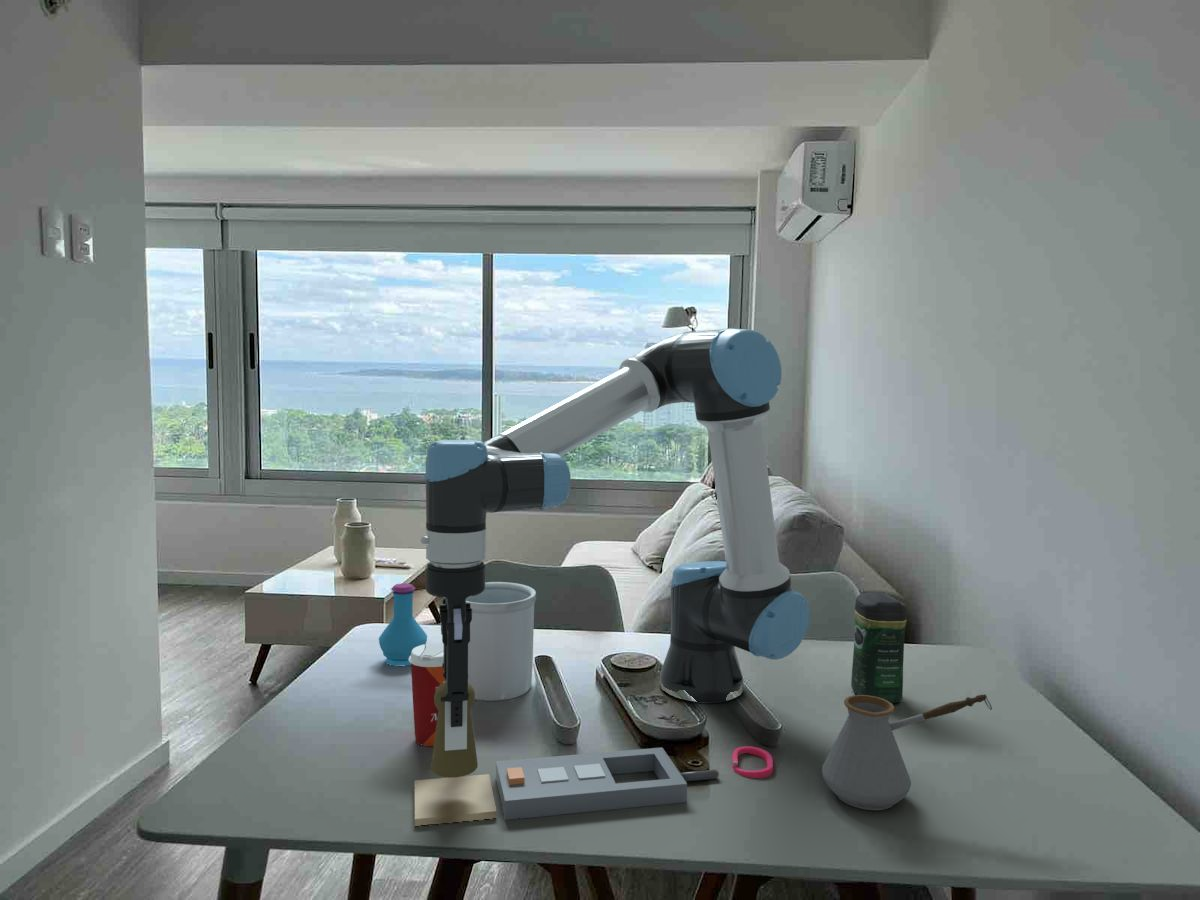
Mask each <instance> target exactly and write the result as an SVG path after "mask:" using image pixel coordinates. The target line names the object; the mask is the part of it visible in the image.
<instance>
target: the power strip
mask: <svg viewBox="0 0 1200 900" xmlns="http://www.w3.org/2000/svg"><path fill="white" fill-rule="evenodd" d="M644 772H654V774H655V775H656V777H657V778H658V779H652V780H643V781H642V780H640V781H632V782H631V781H630V782H620V783H619V782H618V783H617V782H616V781H615V779H614V777H613V775H622V774H630V773H631V774H633V773H644ZM719 777H720V773H719V771H718V770H717V769H707V770H695V771H685V772H680V770H679V769H678V768H677V767H676V765H675V763H674V762H673V761H672V759H671V758H670V756H669V755H668V754H667V752H666V751H665V749H664V748H663V747H652V748H640V749H639V748H638V749H627V750H626V749H625V750H616V751H604V752H592V753H591V752H590V753H581V754H580V753H579V754H570V755H569V754H568V755H557V756H556V755H555V756H543V757H532V758H530V757H529V758H520V759H506V760H497V761H495V781H496V786H497V789H498V795H499V799H501V800H500V804H502V805H501V809H503V810H502V813H504V814H503V818H504V819H503V820H504V821H509V820H510V819H511V820H518V818H520V819H528V818H537V817H538V818H541V817H549V816H560V815H568V814H569V815H571V814H581V813H588V812H589V813H590V812H600V811H608V810H609V811H611V810H620V809H630V808H639V807H650V806H661V805H669V804H670V805H671V804H680V803H687V799H688V783H687V782H696V781H706V780H707V781H708V780H716V779H718V778H719Z"/></svg>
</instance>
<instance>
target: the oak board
mask: <svg viewBox="0 0 1200 900" xmlns="http://www.w3.org/2000/svg"><path fill="white" fill-rule="evenodd" d="M491 782H492V781H491V777H490V773H487V774H477V775H476V774H475V775H473V774H472V775H465V776H461V777H452V778H448V777H440V778H439V777H438V778H430V779H429V778H427V779H415V780H414V787H415V788H414V827H415V826H419V827H421V826H420V825H427V824H439V825H441V824H440V823H449V822H450V823H449V824H454V823H453V822H459V823H463V822H462V821H469V822H474V821H473V820H479V821H485V820H484V819H490V820H494V819H493V818H496V819H497V807H496V803H495V796H494V793H493V788H492V783H491Z"/></svg>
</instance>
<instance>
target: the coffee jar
mask: <svg viewBox="0 0 1200 900" xmlns="http://www.w3.org/2000/svg"><path fill="white" fill-rule="evenodd" d="M907 621H908V620H907V606H906V604H904V603H903V602H901V601H900V600H898V599H896V598H895V597H893V596H891V595H889V594H887V593H886V592H885V591H876V590H875V591H874V590H873V591H871V590H864V591H862V592H860V593H859V594H858V595H857V596H856V598H855V603H854V639H853V654H852V666H851V667H852V668H851V679H850V680H851V681H850V685H851V688H852V691H853V692H854V693H855V694H856V695H868V696H874V697H879V698H882V699H885V700H887V701H889V702H890V703H892V704H895V703H899V702H901V701H902V700H903V694H904V693H903V690H904V689H903V687H904V659H905V658H904V653H905V635H906V633H905V632H906V626H907Z"/></svg>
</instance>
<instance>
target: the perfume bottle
mask: <svg viewBox="0 0 1200 900" xmlns="http://www.w3.org/2000/svg"><path fill="white" fill-rule="evenodd" d="M414 590H416V587H415V586H414V585H413V584H411V583H405V582H404V583H396V584H394V585H393V586H392V587H391V589H390V591H392V595H393V618H392V619H391V620H390V622H389V623H388V625H387V626H386V627H385V629H384V630H383V631H382V633H381V634H380V636H378V642H379V648H380V650H381V652H382V654H383V656H384V657H385V658H386V659H385V663H386V662H387V663H388V664H391V665H410V664H411V663H410V662H409V657H410V656H411V652H412V650H413V649H414V648H415V647H417V646H420V645H424V644H427V640H428V635H427V633H426V632H425V630H424V629H423V627H422V626H420V624H419V623H418V621H417V620H416V619H415V618H414V616H413V614H414V613H413V606H414V605H413V598H414V597H413V596H414V593H415V592H414ZM387 663H386V664H387ZM388 664H387V665H388ZM391 665H390V666H391ZM410 666H411V665H410Z"/></svg>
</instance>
